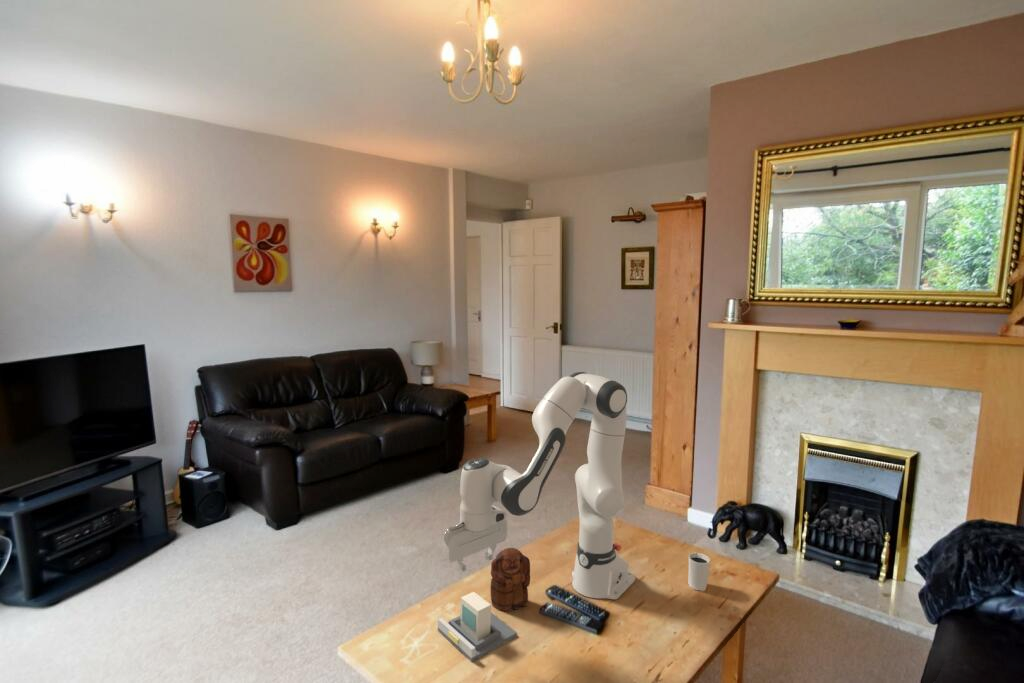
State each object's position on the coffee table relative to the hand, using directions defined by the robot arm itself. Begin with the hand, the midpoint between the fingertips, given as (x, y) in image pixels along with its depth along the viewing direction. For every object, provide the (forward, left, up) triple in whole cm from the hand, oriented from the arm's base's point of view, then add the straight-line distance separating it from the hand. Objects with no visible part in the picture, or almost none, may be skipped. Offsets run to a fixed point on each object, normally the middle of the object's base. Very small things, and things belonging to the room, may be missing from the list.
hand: (475, 565), depth 146 cm
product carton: (0, 0, -20) cm, 20 cm away
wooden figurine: (-17, -4, -21) cm, 27 cm away
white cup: (-72, +28, -21) cm, 80 cm away
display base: (-1, 0, -21) cm, 21 cm away
